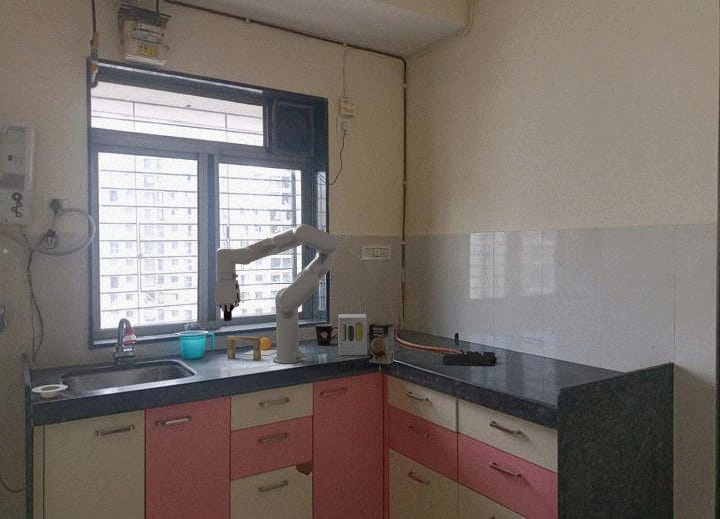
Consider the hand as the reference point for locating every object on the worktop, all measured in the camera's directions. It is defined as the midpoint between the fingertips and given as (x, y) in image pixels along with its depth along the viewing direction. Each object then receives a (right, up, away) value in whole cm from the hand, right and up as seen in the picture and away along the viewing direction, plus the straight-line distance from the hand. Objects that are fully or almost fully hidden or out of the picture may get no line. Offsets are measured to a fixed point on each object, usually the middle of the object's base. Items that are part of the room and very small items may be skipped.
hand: (227, 320), depth 219 cm
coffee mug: (+39, -18, +46) cm, 63 cm away
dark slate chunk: (+101, -18, -1) cm, 103 cm away
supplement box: (+52, -18, +24) cm, 60 cm away
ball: (+9, -15, +34) cm, 38 cm away
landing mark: (+9, -18, +28) cm, 34 cm away
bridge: (+4, -18, +12) cm, 23 cm away
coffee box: (+65, -18, +1) cm, 67 cm away
